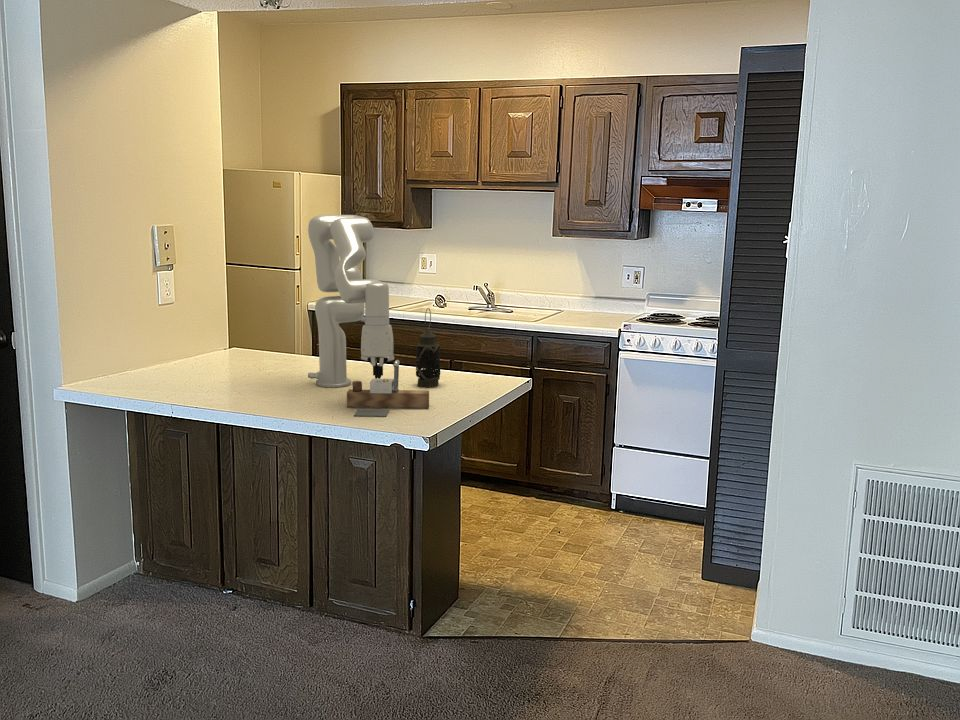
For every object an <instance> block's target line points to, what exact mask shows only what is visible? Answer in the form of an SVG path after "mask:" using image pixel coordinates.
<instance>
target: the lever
mask: <svg viewBox="0 0 960 720" xmlns="http://www.w3.org/2000/svg"><path fill="white" fill-rule="evenodd" d="M400 363H401V362H400V360H399V359H396V360H395V361H394V362H393V364H392V366H393V379H394V392H396V391H397V389H399V380H400V379H399V373H400V372H399V371H400V369H399V368H400V367H399V366H400Z"/></svg>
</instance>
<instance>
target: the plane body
mask: <svg viewBox="0 0 960 720" xmlns="http://www.w3.org/2000/svg"><path fill="white" fill-rule="evenodd" d="M351 384H352V389H348V390H347V391H346V409H347V408H349V409H350V408H351V409H408V410H411V409H412V410H416V409H418V410H428V409H429V408H430V390H427V389H426V390H424V389H423V390H420V389H419V390H417V389H416V390H414V389H410V390H409V389H399V388H398V389H397V391H396V392H394V391H393V392H392V393H370V389H363V382H362V381H361V380H355V381H351Z"/></svg>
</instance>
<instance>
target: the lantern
mask: <svg viewBox="0 0 960 720" xmlns="http://www.w3.org/2000/svg"><path fill="white" fill-rule="evenodd" d="M428 311H429V326H428V327H427V323H426V322H427V321H426V320H427V319H426V318H427V317H426V316H427V312H428ZM431 321H432V313H431V309H430V307H427V308H426V310H425V312H424V326H425V331H424V332H423V333H422V334H420V335H419V343H418V344H416V347H417V348H416V353H415V355H416V356H415V360H414V362H415V363H414V365H415V376H416V377H417V386H418V387H419V388H424V389H425V388H426V389H431V388H436V387H438V386H439V384H440V383H439V380H440V378H441V357H440V356H441V354H440V349H441V344H439V343H437V334H434V333H433V332H432V331H431V327H430V326H431Z"/></svg>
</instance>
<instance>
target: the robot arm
mask: <svg viewBox="0 0 960 720" xmlns="http://www.w3.org/2000/svg"><path fill="white" fill-rule="evenodd" d="M307 226H308V227H307V233H308V234H307V235H308V237H309V238H308V239H309V242H310V244H311V247H312V249H313V250H312V251H313V253H314V261H315V262H314V263H315V274H316V283H317V288H318V289H319V291H321V293H322V292H323V293H338V294H339V295H333V296H332V295H331V296H323V297H321V298H318V300H316V303H315V305H314V310H315V311H314V312H315V318H316V323H317V329H318V330H317V331H318V353H319V354H318V355H319V356H318V357H319V358H318V360H319V361H318V362H319V371H317V372H307V378H309V379H313V380H314V379H316V380H315V385H316V386H318V387H322V388H341V387H342V388H343V387H347V386H350V385H351V384H352V379H350V378H347V375H348V374H347V371H348V370H347V339H346V338H347V337H346V334H345V331H344V330H343V329H342V327H341V326H340V325H339V324H343V323H352V322H354V323H355V322H359V321H360V322H363V323H364V325H362V327H361V328H362V329H361V338H360V339H361V340H360V341H361V342H360V354H361V356H360V360H363V361H366V362H368V363H369V364H370V365H371V366H372V375H373V376H374V379H382V377H383V375H384V365H385V363H387V362H390V361H394V360H395V358H396V357H395V354H394V352H395V343H394V342H395V341H394V332H393V328H392V324H390V300H389V299H390V291H389V290H390V287H389V284H388V283H387V282H384V281H381V280H379V279H375V278H368V279H366V278H364V279H363V277H362V273H361V271H360V269H359V268H358V267H357V266H358V265H360V264H362V262H364V260H365V259H366V256H367V253H366V249H365V247H364V245H363V243H369V242H370V241H372V240H373V238H374V233H375V230H374V229H375V228H374V226H373V224H372V222H371V220H370V219H369V218H367V217H365V216H360V215H355V214H323V215H322V214H320V215H316V216H313V217H312V218H310V220H309V223H308V225H307ZM331 240H333V242H332V241H331ZM377 358H379V361H377ZM378 362H379V363H378Z"/></svg>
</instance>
